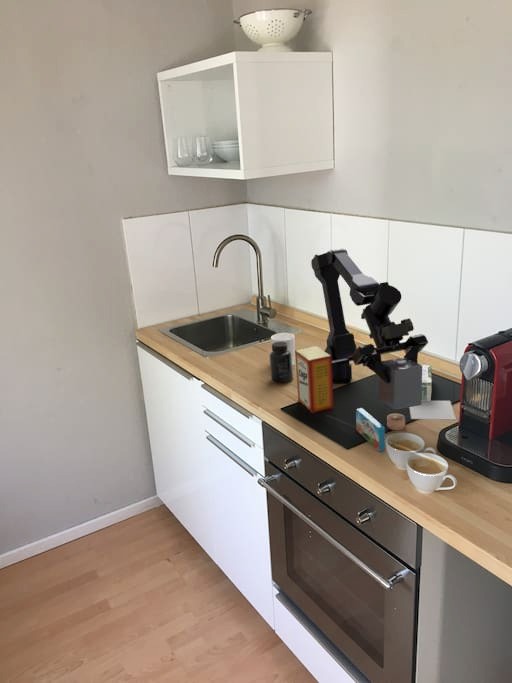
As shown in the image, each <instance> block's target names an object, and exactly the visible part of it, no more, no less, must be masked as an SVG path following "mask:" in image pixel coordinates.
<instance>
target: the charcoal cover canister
mask: <svg viewBox="0 0 512 683" xmlns="http://www.w3.org/2000/svg"><path fill="white" fill-rule="evenodd" d="M381 361H382V363H383V366H384V368H385V370H386V372H387V375H388V377H389V381H390V382H389V384H387V383H386V382H385V381H383V380H382V379H381V378H380V377H379V381H378V382H379V383H378V384H379V385H378V386H379V391H378V392H379V394H378V397H379V398H378V399H379V400H380V401H381V402H382V403H384V404H386V405H387V406H389V408H392V410H399V409H405V408H406V409H407V408H409V407H413V406H419V405H421V394H422V365H423V364H419V362H417V363H416V362H414V361H412V360H410V359H408V358H404V357H401V358H400V357H399V358H398V357H397V358H394V359H386V360H381Z"/></svg>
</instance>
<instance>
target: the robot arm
mask: <svg viewBox="0 0 512 683" xmlns="http://www.w3.org/2000/svg"><path fill="white" fill-rule="evenodd" d="M310 263H311V264H310V265H311V268H312V270H313V274H314V276H315V278H316V279H317V280H318V281H319V282H320V283H321V286H322V293H323V298H324V303H325V309H326V314H327V321H328V327H329V333H328V336H327V338H326V348H325V350H324V351H325V352H326V353H328V354H329V355H330V356H331V362H332V384H350V383H351V380H352V379H353V365H352V363H351V362H352V361H353V363H354V365H355V366H358V365H362V366H363V367H364V368H365V367H367V368H368V369H369V370H371V371H372V372H374V373H375V375H377V376H378V377H379V379H380V378H381V379H382V380H383V381H385V382H386V383H387V384H389V382H390V381H389V377H388V375H387V372H386V370H385V368H384V366H383V363H382V361H383V360H382V355H386V354H391V353H395V352H401V351H404V353H405V355H404V356H403V358H408V359H410V360H412V361H414V362H416V363H419V362H418V360H419V359H418V356H419V353H420V352H421V351H422V350H423V349H424V348H425V347H426V346H427V345H428V344H429V340H428V339H427V336H426V335H425V334H422V333H420V334H415V335H410V334H409V333H410V332H413V331H414V329H415V327H414V324H413V322H412V320H411V318H410V317H409V318H404V319H402V320H400V323H395V321H391V319H390V317H389V316H390V315H391V314H392V313H393V312H394V311H395V309H396V308H397V306H398V305H399V304H400V303H401V300H402V293H401V291H400V290H399V289H397V287H395V286H393V285H390V284H389V281H383V282H380V283H379V282H378V281H377V280H375V279H374V278H373V277H371V276H368V275H366V274H364V273H363V272H362V271H361V270H360V268H359V266H357V264H356V263H355V261H353V259H352V258H351V257H350V256H349V254H348V251H347V249H346V248H335V249H330V250H328V251H327V252H325V253H317V254H315V255H313V258H312V259H311V262H310ZM340 277H341V278H342V279H343V280H344V282H345V283H346V285H348V287H349V294H348V295H349V296H350V298H351V301H352V302H353V303H354V305H355V306H357V307H360V306H365V305H366V306H365V307H364V308H363V309H362V312H361V316H360V317H361V320H365V322H366V326H367V327H368V329H369V332H370V333H369V335H368V336H369V339H371V340H372V339H373V342H374V344H373V343H368V344H363V345H359V346H358V347H357V344H356V342H355V335H354V334H353V333H351V332H350V331H349V330H348V329H347V326H346V320H345V316H344V309H343V303H342V298H341V291H340V286H339V278H340ZM409 335H410V336H409ZM404 336H409V337H408V338H407V340H406V341H403V342H402V340H404ZM400 341H401V342H400Z"/></svg>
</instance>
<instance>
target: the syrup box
mask: <svg viewBox="0 0 512 683" xmlns="http://www.w3.org/2000/svg"><path fill="white" fill-rule="evenodd" d="M421 365H422V394H421V401H432V382H433V380H432V365H431V364H429V365H427V364H421Z"/></svg>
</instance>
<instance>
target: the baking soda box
mask: <svg viewBox="0 0 512 683" xmlns="http://www.w3.org/2000/svg"><path fill="white" fill-rule="evenodd" d="M295 366H296V367H295V368H296V385H297V398H298V399H297V400H298V402H299V401H300V402H301V403H302V404H303V405H305V406H306V407H307V408H308V409H309V410H310V411H311V412H318V411H322V410H326V411H328V410H327V409H330V410H332V409H333V408H334V390H333V383H332V362H331V356H330V355H329V354H328V353H326V352H325V350H324V349H322V348H320V347H319V346H317V345H313V346H309V347H305V348H299V349H295ZM300 402H299V403H300ZM301 403H300V404H301ZM302 404H301V405H302ZM303 405H302V406H303ZM311 412H310V413H311ZM322 412H323V411H322ZM318 413H319V412H318Z"/></svg>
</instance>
